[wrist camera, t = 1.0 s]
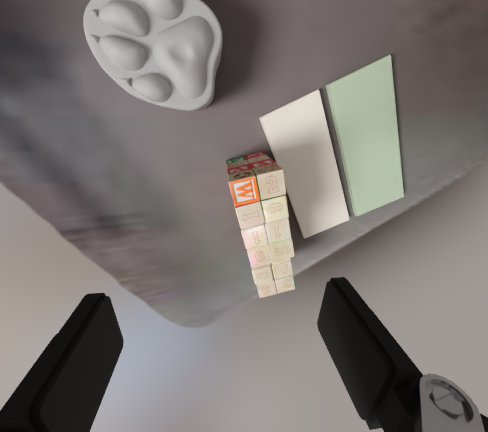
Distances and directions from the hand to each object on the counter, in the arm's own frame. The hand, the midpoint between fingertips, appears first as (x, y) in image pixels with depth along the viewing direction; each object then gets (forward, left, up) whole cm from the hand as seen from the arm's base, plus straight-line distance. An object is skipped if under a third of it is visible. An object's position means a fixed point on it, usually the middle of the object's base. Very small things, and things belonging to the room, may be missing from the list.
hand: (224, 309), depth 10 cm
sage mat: (-24, +8, -28) cm, 37 cm away
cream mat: (-13, +8, -28) cm, 32 cm away
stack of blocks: (-2, +11, -29) cm, 30 cm away
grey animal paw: (0, -15, -28) cm, 32 cm away
